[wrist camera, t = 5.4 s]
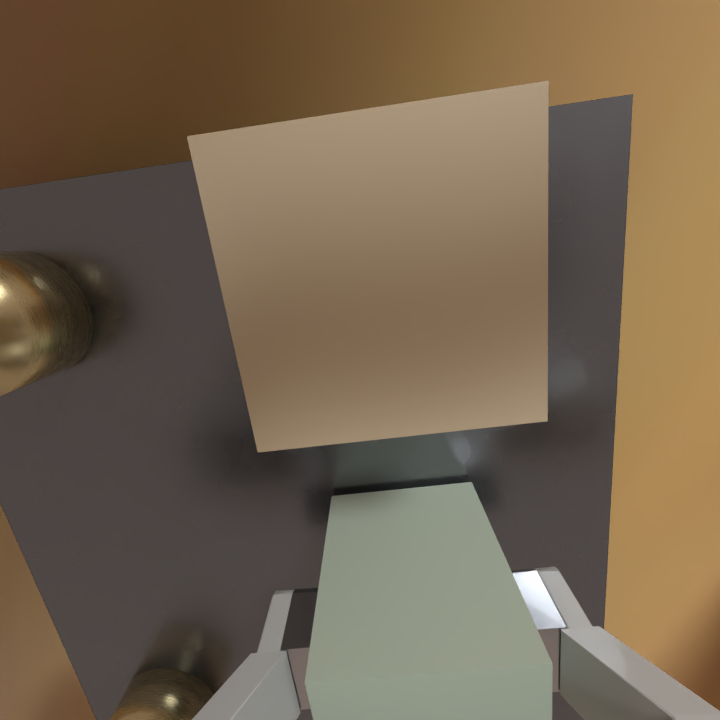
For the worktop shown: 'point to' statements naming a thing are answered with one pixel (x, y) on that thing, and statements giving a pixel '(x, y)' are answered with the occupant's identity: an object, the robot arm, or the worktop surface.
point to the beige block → (385, 266)
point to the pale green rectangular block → (421, 615)
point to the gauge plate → (235, 434)
